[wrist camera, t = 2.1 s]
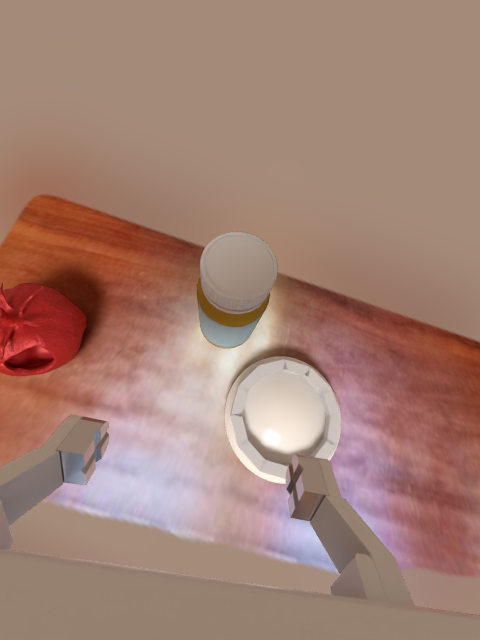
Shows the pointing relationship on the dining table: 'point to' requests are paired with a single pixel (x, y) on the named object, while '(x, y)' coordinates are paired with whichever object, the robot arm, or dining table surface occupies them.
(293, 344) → the dining table surface
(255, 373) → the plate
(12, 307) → the pomegranate
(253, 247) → the bottle
